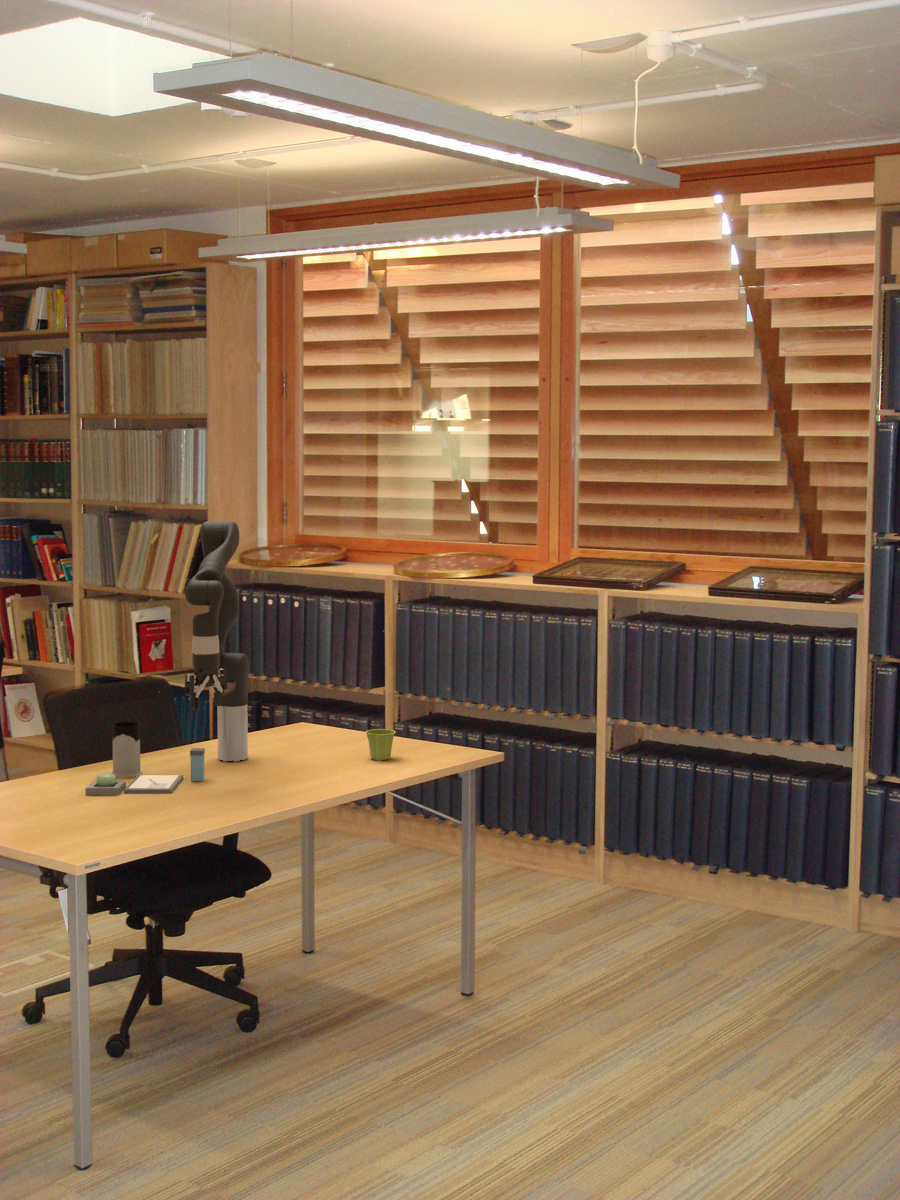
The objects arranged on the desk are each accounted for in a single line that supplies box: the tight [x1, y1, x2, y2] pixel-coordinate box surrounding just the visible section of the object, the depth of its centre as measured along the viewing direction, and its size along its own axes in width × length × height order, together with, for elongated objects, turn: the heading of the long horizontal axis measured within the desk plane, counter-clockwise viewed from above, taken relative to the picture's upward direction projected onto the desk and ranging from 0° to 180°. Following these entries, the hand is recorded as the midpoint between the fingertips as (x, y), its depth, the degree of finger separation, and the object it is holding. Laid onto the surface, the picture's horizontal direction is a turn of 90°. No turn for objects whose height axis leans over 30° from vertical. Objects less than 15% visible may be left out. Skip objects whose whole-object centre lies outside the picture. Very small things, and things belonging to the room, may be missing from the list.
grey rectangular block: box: [189, 747, 206, 782], centre depth 371 cm, size 4×4×9 cm
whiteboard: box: [123, 774, 184, 794], centre depth 364 cm, size 18×13×1 cm
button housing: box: [84, 780, 127, 796], centre depth 356 cm, size 9×9×2 cm
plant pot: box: [365, 728, 396, 761], centre depth 402 cm, size 9×9×9 cm
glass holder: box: [111, 721, 143, 779], centre depth 380 cm, size 9×14×15 cm, turn 1°
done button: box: [95, 773, 116, 786], centre depth 356 cm, size 5×5×2 cm
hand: (206, 707), depth 362 cm, fingers open, 8 cm apart
